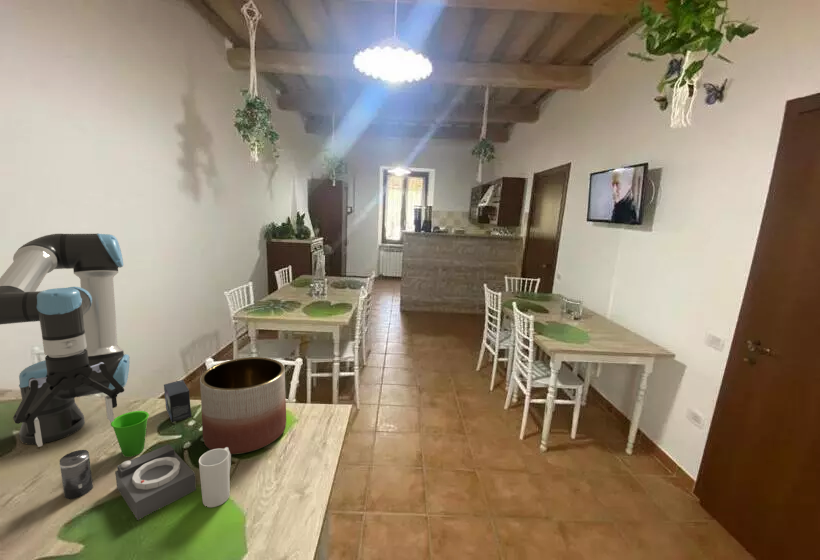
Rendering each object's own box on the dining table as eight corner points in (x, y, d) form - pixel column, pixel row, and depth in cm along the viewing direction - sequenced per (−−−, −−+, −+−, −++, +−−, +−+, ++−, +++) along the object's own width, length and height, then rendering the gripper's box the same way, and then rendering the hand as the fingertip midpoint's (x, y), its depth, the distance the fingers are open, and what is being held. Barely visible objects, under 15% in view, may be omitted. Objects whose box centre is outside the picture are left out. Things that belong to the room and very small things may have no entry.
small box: (164, 410, 133) (162, 383, 131) (185, 404, 137) (183, 379, 135) (170, 423, 125) (168, 395, 123) (192, 416, 129) (190, 389, 128)
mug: (220, 510, 90) (218, 467, 88) (195, 507, 91) (192, 464, 89) (242, 481, 100) (241, 442, 98) (219, 478, 101) (217, 439, 99)
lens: (62, 491, 94) (57, 457, 92) (90, 480, 98) (85, 446, 96) (66, 503, 90) (61, 467, 89) (95, 490, 95) (91, 456, 93)
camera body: (117, 488, 96) (114, 463, 94) (172, 463, 106) (170, 440, 105) (137, 520, 86) (134, 494, 85) (196, 489, 96) (194, 465, 95)
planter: (286, 408, 137) (285, 353, 134) (286, 450, 114) (285, 385, 110) (211, 417, 129) (208, 359, 125) (194, 464, 106) (189, 395, 102)
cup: (132, 464, 105) (128, 429, 103) (106, 458, 107) (102, 424, 105) (159, 445, 114) (156, 413, 112) (135, 440, 115) (131, 408, 113)
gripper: (-10, 373, 76) (6, 463, 80) (133, 342, 96) (140, 415, 100) (-14, 363, 80) (1, 449, 84) (123, 336, 100) (131, 406, 104)
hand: (77, 431), depth 92 cm, fingers open, 13 cm apart
